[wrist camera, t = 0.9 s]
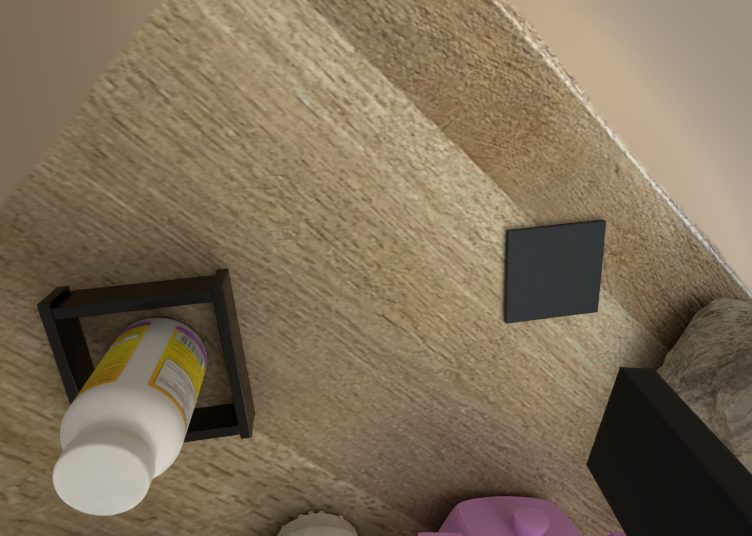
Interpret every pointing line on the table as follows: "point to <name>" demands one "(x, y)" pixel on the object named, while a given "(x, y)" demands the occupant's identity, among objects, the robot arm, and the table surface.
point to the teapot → (508, 519)
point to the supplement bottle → (130, 417)
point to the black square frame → (69, 305)
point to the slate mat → (553, 270)
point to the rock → (717, 372)
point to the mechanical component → (318, 526)
